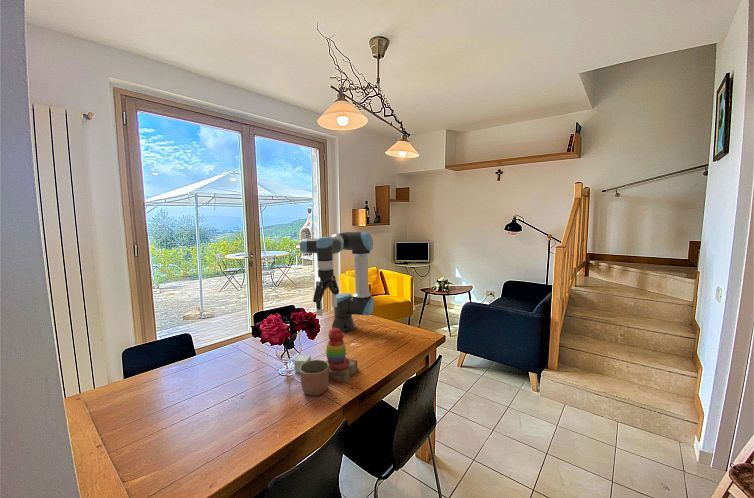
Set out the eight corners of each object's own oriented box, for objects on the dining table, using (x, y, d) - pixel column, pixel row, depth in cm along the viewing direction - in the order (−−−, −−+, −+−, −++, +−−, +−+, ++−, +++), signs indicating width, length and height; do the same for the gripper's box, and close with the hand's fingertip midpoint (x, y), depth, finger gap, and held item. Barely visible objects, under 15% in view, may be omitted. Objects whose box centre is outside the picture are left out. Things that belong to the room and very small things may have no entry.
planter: (319, 379, 141) (318, 357, 140) (335, 390, 132) (334, 366, 131) (295, 390, 133) (294, 366, 131) (311, 402, 124) (309, 377, 123)
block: (299, 366, 154) (299, 354, 153) (311, 367, 153) (310, 355, 152) (294, 372, 148) (294, 360, 147) (306, 373, 147) (306, 361, 147)
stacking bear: (346, 369, 140) (344, 332, 138) (324, 370, 140) (322, 332, 139) (349, 359, 151) (348, 324, 149) (329, 359, 151) (327, 324, 150)
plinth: (332, 365, 155) (332, 356, 155) (357, 370, 150) (357, 360, 149) (317, 379, 142) (317, 369, 142) (344, 385, 137) (344, 374, 137)
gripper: (332, 263, 161) (333, 302, 164) (303, 273, 138) (306, 318, 141) (344, 264, 158) (346, 304, 161) (317, 274, 135) (319, 320, 138)
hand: (327, 310), depth 151 cm, fingers open, 13 cm apart
